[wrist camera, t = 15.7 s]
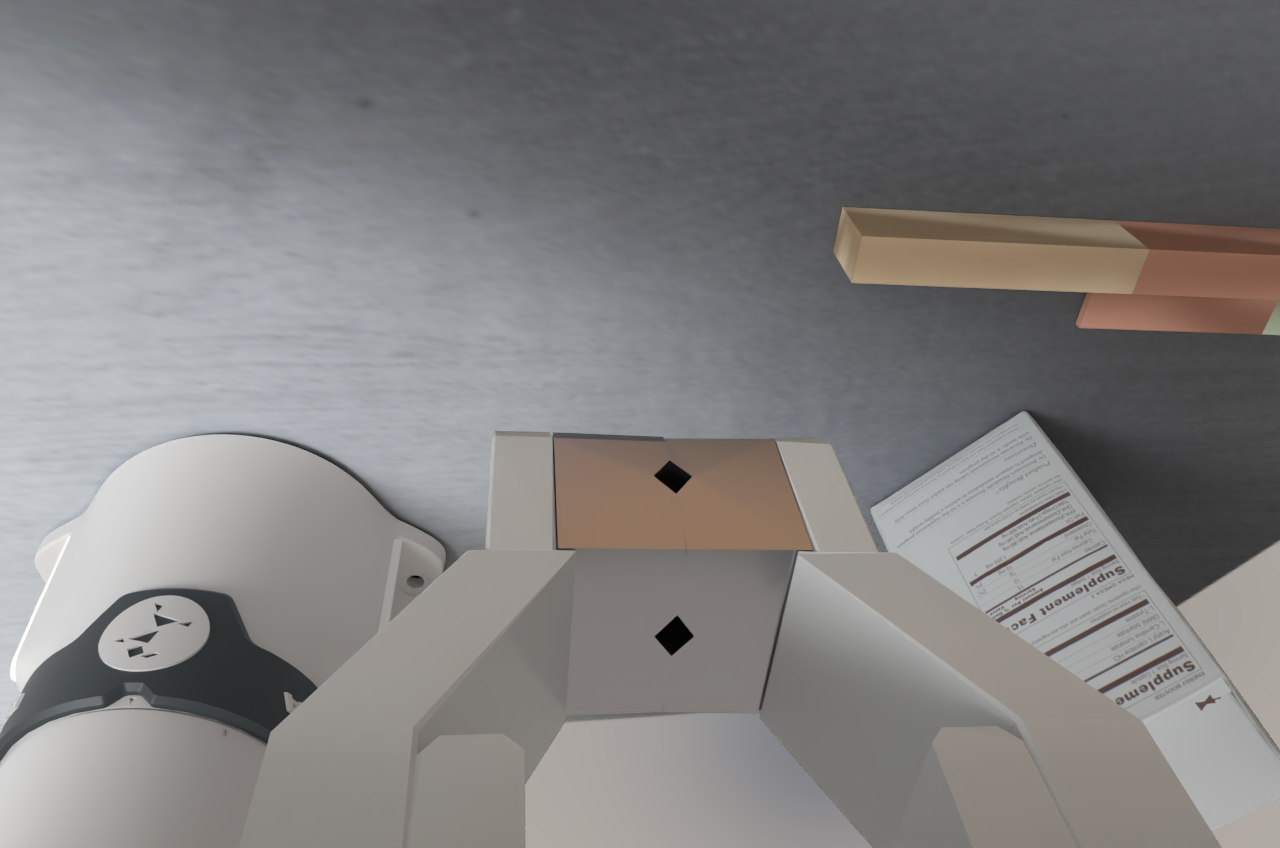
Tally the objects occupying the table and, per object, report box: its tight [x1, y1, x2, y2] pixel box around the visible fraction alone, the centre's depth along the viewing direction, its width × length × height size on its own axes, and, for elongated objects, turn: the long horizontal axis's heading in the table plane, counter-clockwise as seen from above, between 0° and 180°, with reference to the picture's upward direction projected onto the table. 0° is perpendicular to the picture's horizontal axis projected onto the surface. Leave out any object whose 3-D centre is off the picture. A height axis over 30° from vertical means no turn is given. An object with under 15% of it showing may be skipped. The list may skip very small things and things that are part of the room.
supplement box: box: [870, 411, 1280, 831], centre depth 44 cm, size 10×9×17 cm
